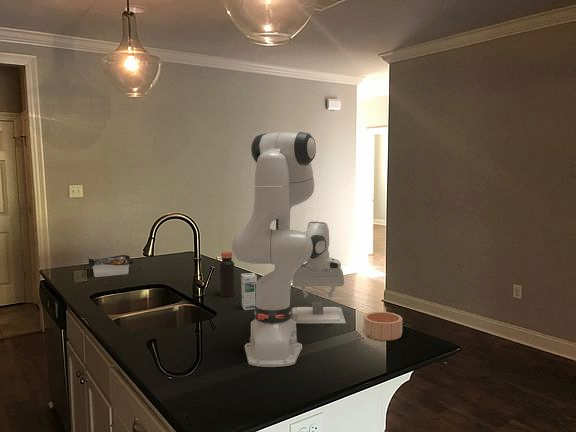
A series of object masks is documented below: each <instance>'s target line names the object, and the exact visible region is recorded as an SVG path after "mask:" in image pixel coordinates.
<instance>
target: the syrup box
mask: <svg viewBox="0 0 576 432" xmlns="http://www.w3.org/2000/svg"><path fill="white" fill-rule="evenodd" d="M240 279H241V280H240V282H241V283H240V284H241V307H242V309H243V310H244V311H250V310H251V311H253V310H255V305H256V283H257V281H258V275H257V274H256V273H255V272H252V273H251V272H250V273H241V274H240Z"/></svg>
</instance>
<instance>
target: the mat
mask: <svg viewBox="0 0 576 432" xmlns="http://www.w3.org/2000/svg"><path fill="white" fill-rule="evenodd" d="M336 307H337V306H336ZM291 309H292V313H291V314H292V316H291V318H292V319H293V320H294V321H295V322H296V324H347V322H346V319H345V316H344V313H343V310H342V309H343V308H342V307H340V306H339V307H337V311H338V314H339V317H340V321H306V322H297V307H291Z"/></svg>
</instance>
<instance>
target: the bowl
mask: <svg viewBox="0 0 576 432" xmlns="http://www.w3.org/2000/svg"><path fill="white" fill-rule="evenodd" d="M363 332H364V334H365V336H366V337H367V338H369V339H372V340H376V341H384V342H385V341H389V342H390V341H395V340H398V339H401V338H402V335H403V317H402V316H401V315H400V314H396V313H394V312H390V311H389V312H387V311H373V312H369V313H366V314H364V315H363Z"/></svg>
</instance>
